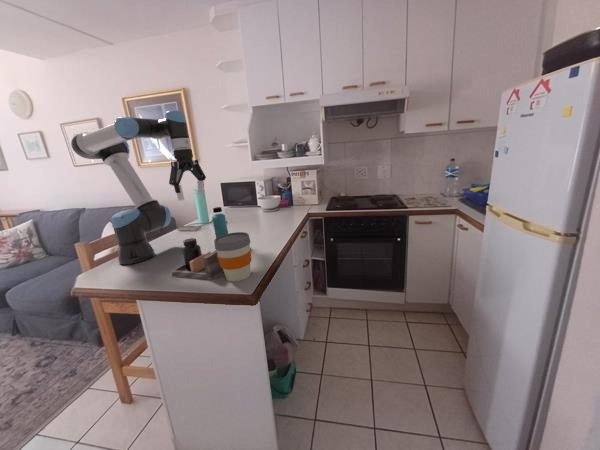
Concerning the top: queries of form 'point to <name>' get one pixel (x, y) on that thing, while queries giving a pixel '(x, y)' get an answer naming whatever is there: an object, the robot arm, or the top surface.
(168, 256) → the top surface
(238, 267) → the reusable coffee cup
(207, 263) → the grey stand
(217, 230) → the beverage bottle
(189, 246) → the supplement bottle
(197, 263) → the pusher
